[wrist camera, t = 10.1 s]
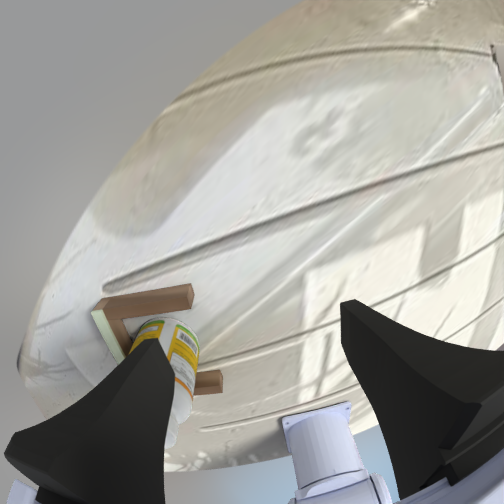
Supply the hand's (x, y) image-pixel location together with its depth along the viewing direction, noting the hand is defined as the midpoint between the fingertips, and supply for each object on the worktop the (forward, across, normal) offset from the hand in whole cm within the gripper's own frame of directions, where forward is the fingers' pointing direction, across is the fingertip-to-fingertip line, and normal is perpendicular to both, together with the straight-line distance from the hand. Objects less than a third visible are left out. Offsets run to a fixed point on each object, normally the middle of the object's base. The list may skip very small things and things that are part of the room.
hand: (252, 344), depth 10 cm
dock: (+10, +8, +6) cm, 14 cm away
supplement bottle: (+10, +8, +6) cm, 14 cm away
